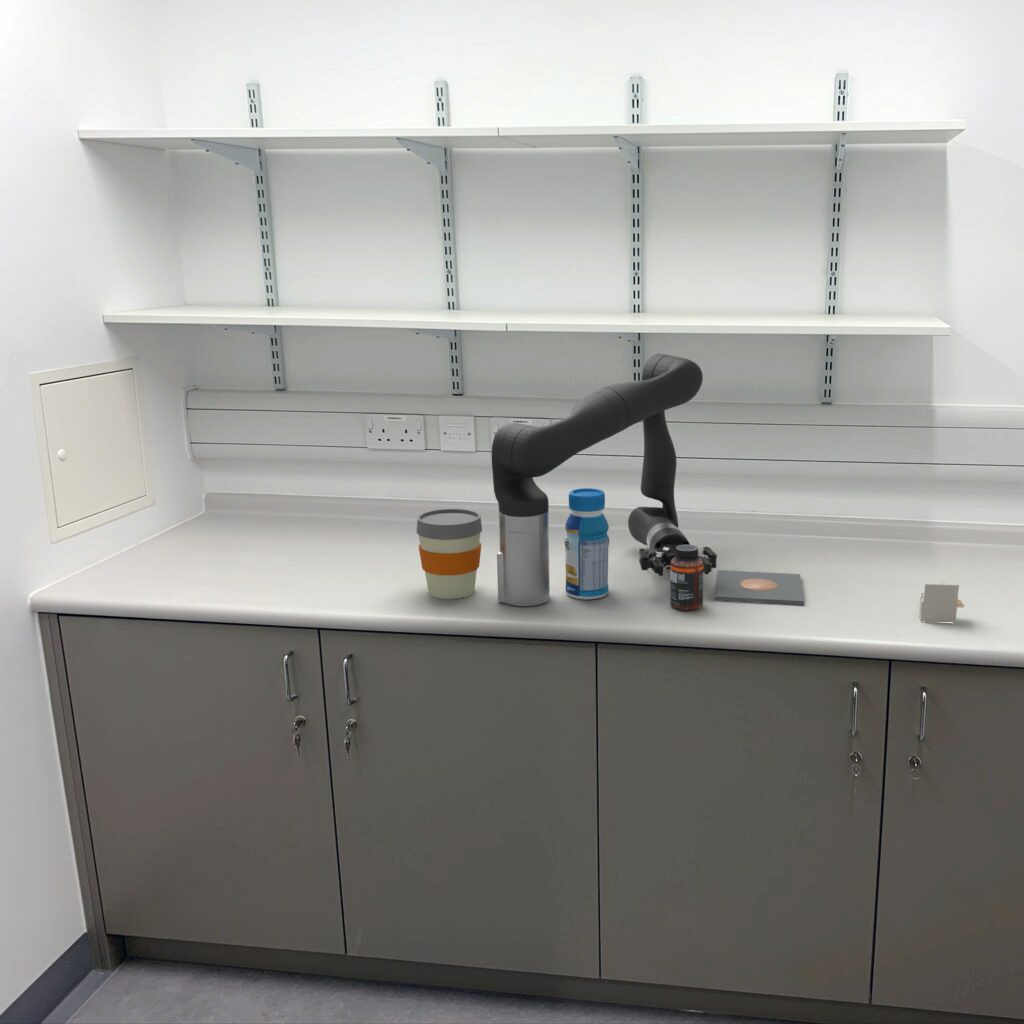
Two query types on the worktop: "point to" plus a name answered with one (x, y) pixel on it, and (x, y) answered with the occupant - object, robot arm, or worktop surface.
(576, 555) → the beverage bottle
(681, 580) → the supplement bottle
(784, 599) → the mat
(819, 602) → the worktop surface
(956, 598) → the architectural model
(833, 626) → the worktop surface
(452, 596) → the reusable coffee cup
